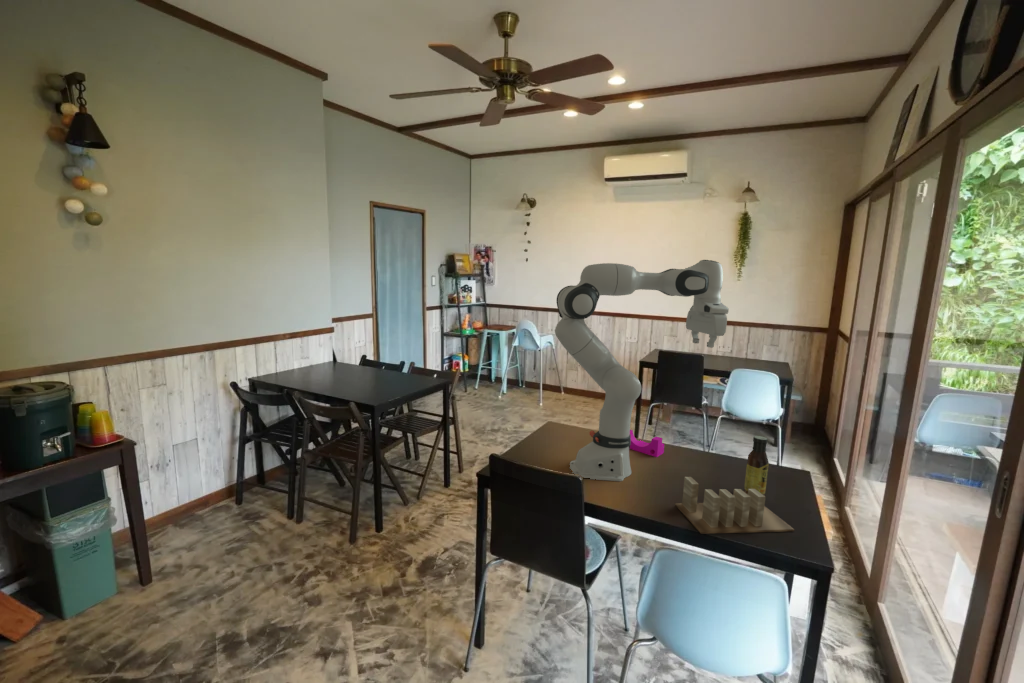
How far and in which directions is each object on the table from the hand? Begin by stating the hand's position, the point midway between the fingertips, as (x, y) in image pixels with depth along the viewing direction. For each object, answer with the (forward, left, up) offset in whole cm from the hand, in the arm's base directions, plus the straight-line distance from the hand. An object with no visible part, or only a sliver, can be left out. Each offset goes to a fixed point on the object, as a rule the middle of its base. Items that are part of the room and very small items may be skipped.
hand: (702, 345), depth 164 cm
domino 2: (-13, -37, -47) cm, 61 cm away
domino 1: (-15, -29, -47) cm, 57 cm away
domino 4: (-4, -37, -47) cm, 60 cm away
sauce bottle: (+12, -20, -47) cm, 53 cm away
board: (-4, -34, -47) cm, 58 cm away
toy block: (-11, +19, -48) cm, 52 cm away
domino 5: (0, -37, -47) cm, 60 cm away
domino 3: (-9, -37, -47) cm, 60 cm away
